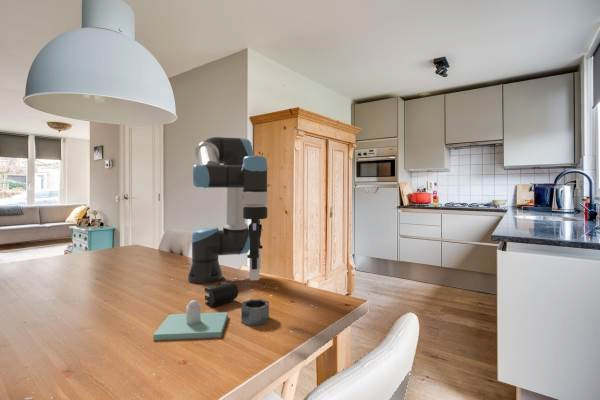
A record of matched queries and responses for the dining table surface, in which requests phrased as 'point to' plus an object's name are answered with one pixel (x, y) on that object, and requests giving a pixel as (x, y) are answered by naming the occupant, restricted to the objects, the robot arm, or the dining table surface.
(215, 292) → the end cap
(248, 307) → the collar
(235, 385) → the dining table surface
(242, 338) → the dining table surface
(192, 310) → the post stand
